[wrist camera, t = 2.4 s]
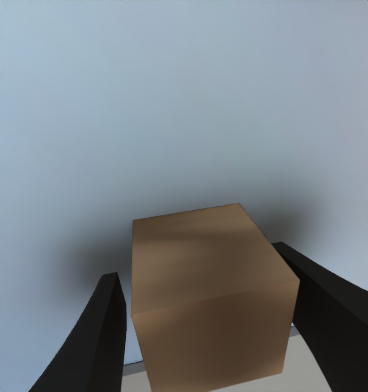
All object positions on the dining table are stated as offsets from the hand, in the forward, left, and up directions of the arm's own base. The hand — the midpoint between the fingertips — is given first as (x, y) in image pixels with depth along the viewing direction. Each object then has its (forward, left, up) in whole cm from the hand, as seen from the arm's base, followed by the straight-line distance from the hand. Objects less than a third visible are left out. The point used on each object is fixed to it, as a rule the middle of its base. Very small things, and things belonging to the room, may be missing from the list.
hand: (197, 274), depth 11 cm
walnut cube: (0, 0, -2) cm, 2 cm away
